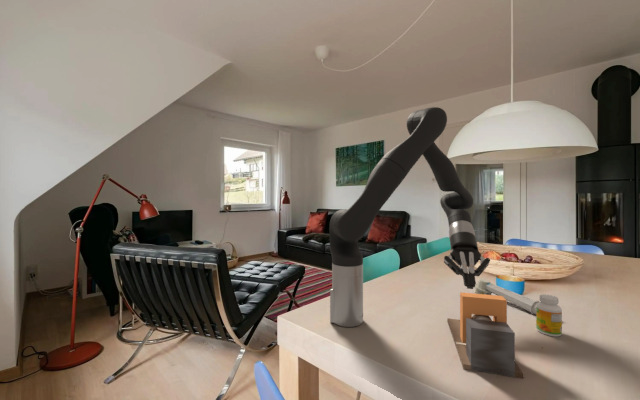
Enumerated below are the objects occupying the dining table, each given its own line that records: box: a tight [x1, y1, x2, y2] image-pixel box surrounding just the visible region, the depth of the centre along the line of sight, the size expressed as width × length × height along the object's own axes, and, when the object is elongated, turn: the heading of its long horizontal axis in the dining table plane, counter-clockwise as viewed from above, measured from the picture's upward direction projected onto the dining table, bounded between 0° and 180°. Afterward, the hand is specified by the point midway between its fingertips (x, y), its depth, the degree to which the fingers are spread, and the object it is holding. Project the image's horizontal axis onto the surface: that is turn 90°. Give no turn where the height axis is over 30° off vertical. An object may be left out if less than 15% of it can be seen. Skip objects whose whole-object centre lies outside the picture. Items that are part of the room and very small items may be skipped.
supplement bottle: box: [535, 293, 563, 338], centre depth 76 cm, size 5×5×10 cm
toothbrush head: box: [474, 277, 540, 316], centre depth 97 cm, size 5×7×25 cm
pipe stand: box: [447, 314, 524, 379], centre depth 69 cm, size 11×24×9 cm, turn 163°
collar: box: [459, 291, 508, 343], centre depth 65 cm, size 9×3×11 cm, turn 73°
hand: (470, 287), depth 78 cm, fingers closed
